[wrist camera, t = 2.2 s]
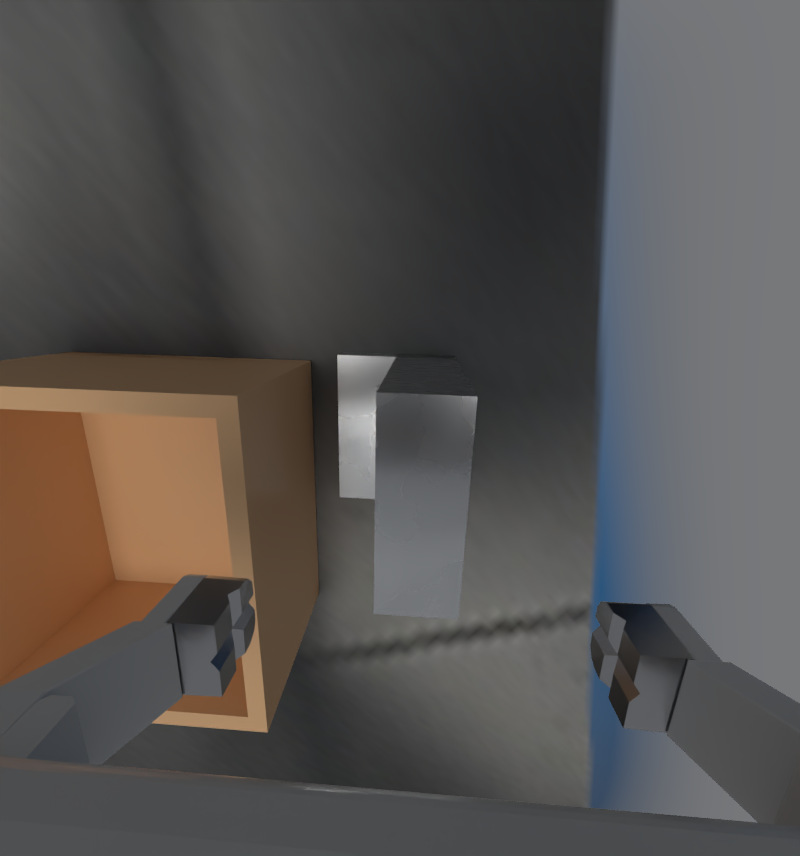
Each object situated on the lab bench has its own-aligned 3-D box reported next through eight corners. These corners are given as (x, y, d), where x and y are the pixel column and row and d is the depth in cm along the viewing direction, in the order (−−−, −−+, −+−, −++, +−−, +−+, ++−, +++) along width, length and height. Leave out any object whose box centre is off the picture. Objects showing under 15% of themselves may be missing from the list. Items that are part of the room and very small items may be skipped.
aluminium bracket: (444, 493, 24) (458, 619, 14) (343, 488, 24) (290, 608, 14) (454, 356, 21) (477, 396, 12) (342, 352, 22) (276, 388, 12)
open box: (70, 351, 22) (-150, 380, 14) (310, 360, 22) (236, 396, 13) (117, 579, 27) (-28, 708, 18) (319, 592, 26) (267, 732, 18)
